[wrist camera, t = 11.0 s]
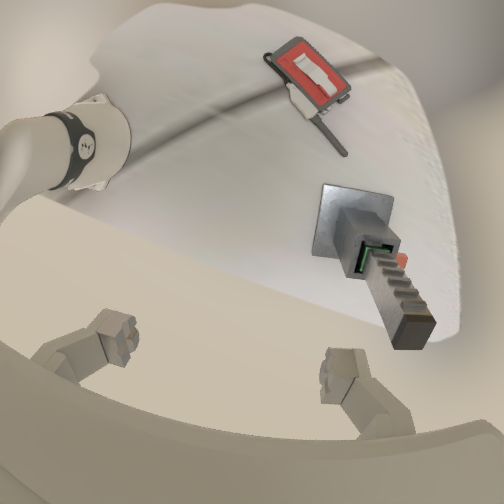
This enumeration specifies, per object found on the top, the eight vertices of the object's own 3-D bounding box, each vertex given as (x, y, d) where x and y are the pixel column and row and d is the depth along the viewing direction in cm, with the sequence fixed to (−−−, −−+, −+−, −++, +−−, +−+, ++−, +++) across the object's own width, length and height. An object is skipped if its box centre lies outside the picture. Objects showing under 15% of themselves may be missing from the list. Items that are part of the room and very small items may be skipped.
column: (350, 250, 38) (392, 350, 19) (356, 227, 36) (408, 317, 18) (370, 253, 37) (422, 350, 19) (376, 231, 36) (439, 318, 18)
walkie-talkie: (253, 66, 35) (339, 159, 40) (249, 59, 31) (345, 162, 36) (294, 34, 32) (379, 128, 37) (295, 25, 28) (389, 128, 33)
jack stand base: (311, 252, 46) (318, 294, 35) (323, 183, 41) (337, 204, 30) (376, 261, 46) (399, 303, 34) (392, 196, 40) (426, 221, 29)
